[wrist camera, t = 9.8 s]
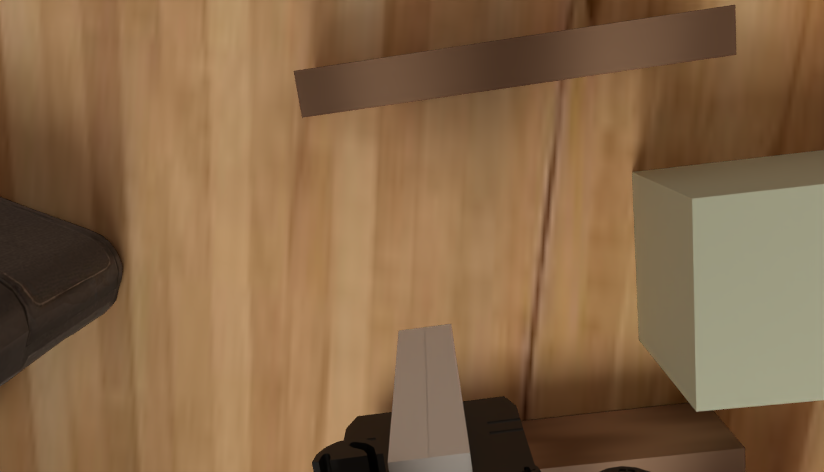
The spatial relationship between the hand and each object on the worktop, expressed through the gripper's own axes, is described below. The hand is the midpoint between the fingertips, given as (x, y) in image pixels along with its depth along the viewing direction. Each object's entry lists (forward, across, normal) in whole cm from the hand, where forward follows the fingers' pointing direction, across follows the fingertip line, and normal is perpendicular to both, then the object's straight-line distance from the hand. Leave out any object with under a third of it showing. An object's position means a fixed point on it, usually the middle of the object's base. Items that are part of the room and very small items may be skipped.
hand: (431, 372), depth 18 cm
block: (+8, +13, 0) cm, 15 cm away
